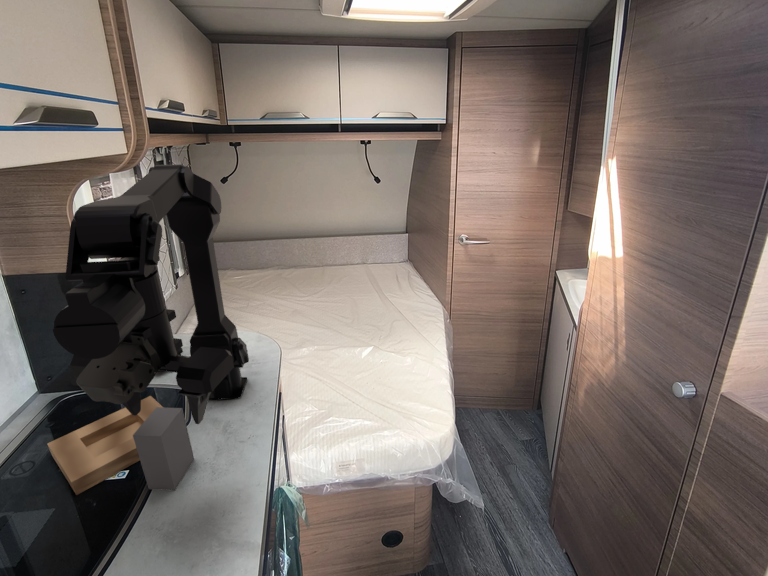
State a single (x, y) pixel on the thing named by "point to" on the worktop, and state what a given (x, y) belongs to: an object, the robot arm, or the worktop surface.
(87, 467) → the plate
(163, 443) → the block
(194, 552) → the worktop surface
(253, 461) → the worktop surface
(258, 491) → the worktop surface
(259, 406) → the worktop surface
